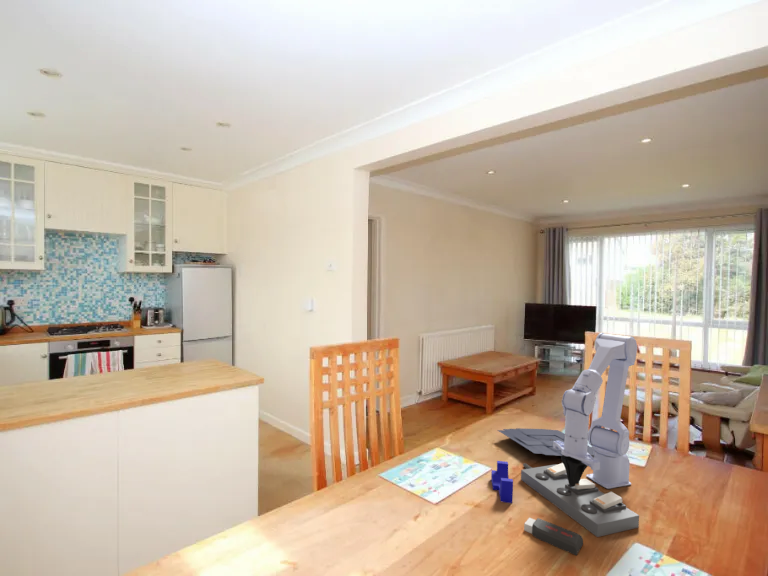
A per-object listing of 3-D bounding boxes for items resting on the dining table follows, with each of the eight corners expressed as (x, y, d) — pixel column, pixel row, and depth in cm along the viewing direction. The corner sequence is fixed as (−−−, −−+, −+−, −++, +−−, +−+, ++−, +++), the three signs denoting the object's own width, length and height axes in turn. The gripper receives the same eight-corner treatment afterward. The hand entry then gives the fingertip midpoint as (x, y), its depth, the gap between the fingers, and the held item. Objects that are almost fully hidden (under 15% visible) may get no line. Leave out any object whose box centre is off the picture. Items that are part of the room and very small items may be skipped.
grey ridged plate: (492, 435, 153) (494, 425, 153) (556, 436, 163) (557, 427, 163) (537, 464, 130) (539, 453, 130) (608, 463, 140) (609, 453, 140)
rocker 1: (563, 465, 122) (563, 462, 122) (571, 470, 119) (571, 467, 119) (547, 471, 120) (546, 468, 120) (555, 476, 117) (554, 473, 117)
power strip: (540, 463, 133) (540, 452, 133) (638, 527, 100) (639, 512, 100) (506, 468, 129) (506, 457, 129) (597, 537, 96) (597, 521, 96)
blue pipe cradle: (491, 480, 122) (491, 460, 122) (506, 481, 121) (507, 461, 121) (495, 501, 110) (495, 479, 110) (512, 503, 109) (513, 481, 109)
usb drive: (576, 556, 89) (576, 544, 89) (522, 533, 97) (522, 522, 97) (583, 545, 93) (583, 533, 93) (530, 523, 101) (531, 512, 101)
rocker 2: (611, 495, 106) (611, 491, 106) (622, 501, 103) (622, 497, 103) (593, 502, 104) (593, 498, 104) (604, 509, 101) (603, 505, 101)
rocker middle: (585, 482, 114) (585, 478, 114) (594, 487, 111) (595, 483, 111) (568, 483, 112) (568, 479, 112) (577, 489, 109) (577, 485, 109)
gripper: (545, 426, 116) (543, 473, 116) (585, 447, 102) (582, 500, 103) (565, 424, 118) (563, 471, 119) (607, 444, 105) (604, 496, 105)
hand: (573, 484), depth 111 cm, fingers closed, pressing on rocker middle
